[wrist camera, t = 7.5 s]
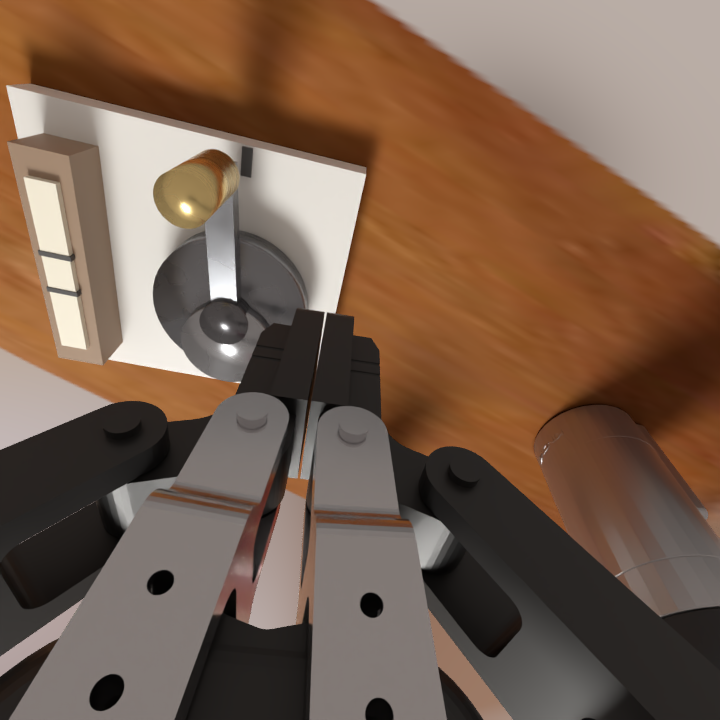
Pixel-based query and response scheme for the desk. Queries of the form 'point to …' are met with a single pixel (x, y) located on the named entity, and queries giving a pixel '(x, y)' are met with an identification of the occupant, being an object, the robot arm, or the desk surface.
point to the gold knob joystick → (219, 270)
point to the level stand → (155, 217)
